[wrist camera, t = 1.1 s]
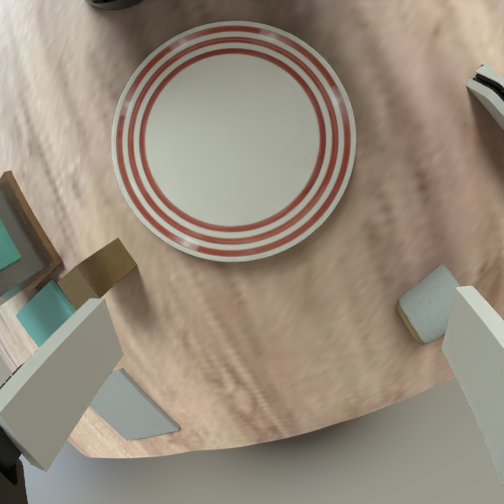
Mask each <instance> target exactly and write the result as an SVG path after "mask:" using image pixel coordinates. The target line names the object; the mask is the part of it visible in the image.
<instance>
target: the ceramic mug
mask: <svg viewBox="0 0 504 504" xmlns="http://www.w3.org/2000/svg"><path fill="white" fill-rule="evenodd" d="M455 287H461V286H460V285H459V283H458V282H457V280H456V279H455V277H454V276H453V275H452V273H451V272H450V271H449V269H448V268H447V267H446V266H445V265H444V264H440V265H439V266H438V267H437V268H435V269H434V270H433V271H432V272H431V273H429V274H428V275H427V276H426V277H424V278H423V279H422V280H421V281H419V282H418V283H417V284H416V285H415V286H413V287H412V288H410V289H409V290H408V291H406V292H405V293H404V294H403V295H402V296H401V297H400V298H399V299H398V301H397V309H398V311H399V313H400V315H401V317H402V319H403V321H404V323H405V324H406V326H407V328H408V329H409V331H410V333H411V334H412V336H413V337H414V339H415V340H416V341H417V342H418V343H419V344H422V345H423V344H427V343H429V342H431V341H434V340H435V339H437V338H439V337H440V336H441V335H443V334H444V333H446V329H447V324H448V320H449V316H450V311H451V306H452V301H453V296H454V291H455Z"/></svg>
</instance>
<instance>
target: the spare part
mask: <svg viewBox="0 0 504 504" xmlns="http://www.w3.org/2000/svg"><path fill="white" fill-rule="evenodd" d="M136 265H137V264H136V263H135V261H134V260H133V258H132V257H131V256H130V254H129V253H128V251H127V250H126V248H125V247H124V246H123V244H122V243H121V241H120V240H119V238H117V239H115V240H114V241H112V242H111V243H109V244H108V245H106V246H105V247H103V248H102V249H100V250H99V251H97V252H96V253H94V254H93V255H91V256H90V257H88V258H87V259H85V260H84V261H82V262H81V263H80V264H78V265H77V266H75V267H74V268H73V269H72V270H71V271H70V272H69V273H67V274H66V275H65V276H64V277H63V278H62V279H61V280H60V281H59V282H58V283H57V284H58V285H59V287H60V288H61V290H62V291H63V292H64V294H65V295H66V297H67V298H68V299H69V301H70V302H71V304H72V305H73V306H74V308H75V309H76V310H78V309H79V308H80V307H81V306H82V305H83V304H84V303H86V302H87V301H88V300H89V299H90V298H95V299H100V298H101V297H102V296H103V295H104V294H105V293H106V292H107V291H108V290H110V289H111V288H112V287H113V286H114V285H115V284H116V283H117V282H118V281H119V280H121V279H122V278H123V277H124V276H125V275H126V274H127V273H128V272H129V271H131V270H132V269H133V268H134V267H135V266H136Z"/></svg>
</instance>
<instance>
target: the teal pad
mask: <svg viewBox="0 0 504 504" xmlns="http://www.w3.org/2000/svg"><path fill="white" fill-rule="evenodd" d="M75 312H76V311H75V309H74V308H73V306H72V305H71V304H70V302H69V301H68V300H67V298H66V297H65V295H64V294H63V293H62V291H61V290H60V288H59V287H58V285H57V284H56V282H55V281H54V280H53V279H52V280H51V281H49V282H48V283H47V284H46V285H45V286H44V287H43V288H42V289H41V290H40V291H39V292H38V293H37V294H36V295H35V296H34V297H33V298H32V299H31V300H30V301H29V302H28V303H27V304H26V305H25V306H24V307H23V308H22V309H21V310H20V311H19V313H18V314H17V315H16V317H17V318H18V320H19V321H20V322H21V324H22V325H23V327H24V328H25V329H26V331H27V332H28V333H29V335H30V336H31V337H32V339H33V340H34V341H35V343H36V344H37V345H38V347H39V348H40V347H41V346H42V345H43V344H44V343H45V342H46V341H47V340H48V339H49V338H50V337H51V336H52V335H53V334H54V333H55V332H56V331H57V330H58V329H59V328H60V327H61V326H62V325H63V324H64V323H65V322H66V321H67V320H68V319H69V318H70V317H71V316H72V315H73V314H74V313H75Z"/></svg>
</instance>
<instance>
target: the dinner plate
mask: <svg viewBox="0 0 504 504" xmlns="http://www.w3.org/2000/svg"><path fill="white" fill-rule="evenodd" d="M111 152H112V161H113V166H114V171H115V175H116V178H117V181H118V184H119V187H120V189H121V191H122V193H123V196H124V198H125V199H126V201H127V203H128V205H129V206H130V208H131V209H132V211H133V212H134V213H135V215H136V216H137V217H138V218H139V220H140V221H141V222H142V223H143V224H144V225H145V226H146V227H147V228H148V229H149V230H150V231H151V232H152V233H154V234H155V235H156V236H157V237H159V238H160V239H161V240H163V241H164V242H166V243H167V244H169V245H171V246H172V247H174V248H176V249H178V250H180V251H183V252H185V253H187V254H190V255H193V256H196V257H199V258H203V259H207V260H213V261H220V262H244V261H253V260H258V259H262V258H266V257H269V256H272V255H275V254H278V253H280V252H282V251H285V250H287V249H289V248H291V247H293V246H294V245H296V244H298V243H299V242H301V241H302V240H304V239H305V238H306V237H308V236H309V235H310V234H311V233H313V232H314V231H315V230H316V229H317V228H318V227H319V226H320V225H321V224H322V223H323V222H324V221H325V220H326V219H327V218H328V216H329V215H330V214H331V212H332V211H333V210H334V208H335V207H336V205H337V204H338V202H339V201H340V199H341V197H342V195H343V194H344V191H345V189H346V187H347V184H348V182H349V179H350V176H351V173H352V169H353V165H354V160H355V154H356V125H355V119H354V114H353V110H352V106H351V103H350V100H349V97H348V95H347V93H346V90H345V88H344V86H343V85H342V83H341V81H340V79H339V77H338V76H337V74H336V73H335V71H334V70H333V69H332V67H331V66H330V65H329V64H328V63H327V61H326V60H325V59H324V58H323V57H322V56H321V55H320V54H319V53H318V52H317V51H316V50H314V49H313V48H312V47H311V46H309V45H308V44H307V43H305V42H304V41H302V40H301V39H299V38H298V37H296V36H294V35H292V34H290V33H288V32H286V31H283V30H281V29H279V28H276V27H273V26H270V25H266V24H261V23H257V22H250V21H222V22H215V23H209V24H205V25H201V26H198V27H195V28H192V29H189V30H187V31H185V32H183V33H180V34H178V35H176V36H174V37H173V38H171V39H169V40H168V41H166V42H165V43H163V44H162V45H161V46H159V47H158V48H157V49H156V50H154V51H153V52H152V53H151V54H150V55H149V56H148V57H147V58H146V59H145V60H144V61H143V62H142V63H141V64H140V65H139V67H138V68H137V69H136V70H135V72H134V73H133V74H132V76H131V77H130V79H129V81H128V83H127V84H126V86H125V88H124V90H123V92H122V94H121V97H120V99H119V102H118V105H117V108H116V111H115V115H114V120H113V126H112V136H111Z"/></svg>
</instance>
